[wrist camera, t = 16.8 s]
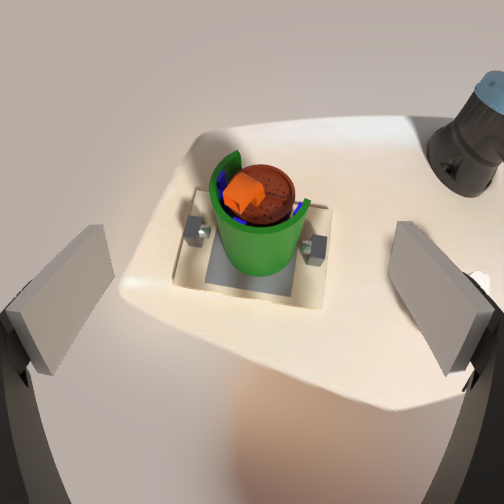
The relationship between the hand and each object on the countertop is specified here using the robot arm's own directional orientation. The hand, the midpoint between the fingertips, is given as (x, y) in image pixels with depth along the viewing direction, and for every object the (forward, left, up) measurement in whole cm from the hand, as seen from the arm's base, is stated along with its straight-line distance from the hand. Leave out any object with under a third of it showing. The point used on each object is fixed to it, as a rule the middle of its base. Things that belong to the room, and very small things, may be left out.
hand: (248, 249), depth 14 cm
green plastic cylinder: (+1, -11, -30) cm, 32 cm away
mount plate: (+2, -11, -32) cm, 33 cm away
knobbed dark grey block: (+10, -11, -30) cm, 34 cm away
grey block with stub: (-6, -11, -30) cm, 33 cm away
